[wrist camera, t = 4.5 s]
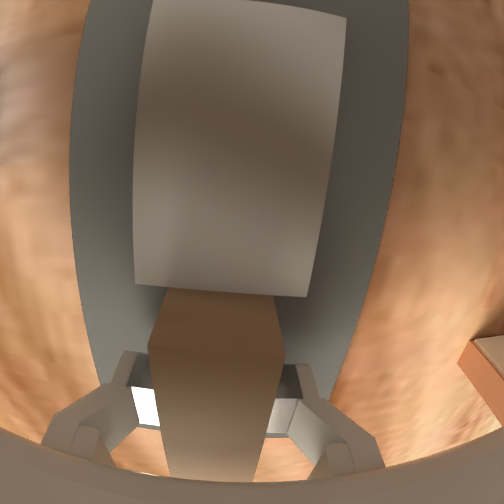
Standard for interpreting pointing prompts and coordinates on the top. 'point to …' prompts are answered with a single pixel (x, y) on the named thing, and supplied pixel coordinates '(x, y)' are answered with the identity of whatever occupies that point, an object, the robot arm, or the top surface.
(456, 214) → the top surface
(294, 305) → the rest mat
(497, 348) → the tile
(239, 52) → the turner
